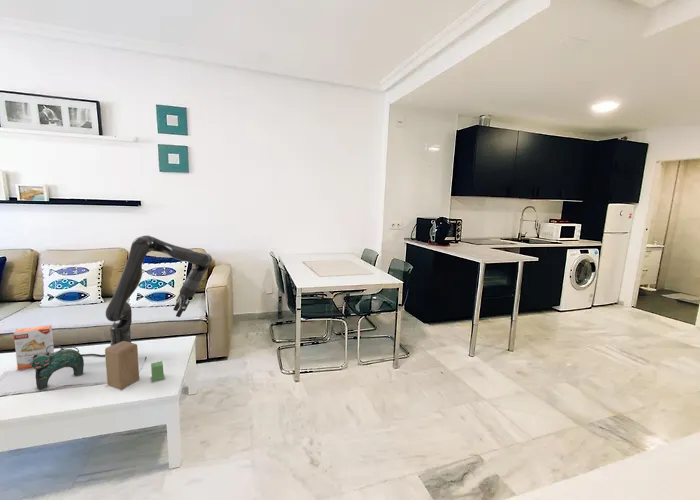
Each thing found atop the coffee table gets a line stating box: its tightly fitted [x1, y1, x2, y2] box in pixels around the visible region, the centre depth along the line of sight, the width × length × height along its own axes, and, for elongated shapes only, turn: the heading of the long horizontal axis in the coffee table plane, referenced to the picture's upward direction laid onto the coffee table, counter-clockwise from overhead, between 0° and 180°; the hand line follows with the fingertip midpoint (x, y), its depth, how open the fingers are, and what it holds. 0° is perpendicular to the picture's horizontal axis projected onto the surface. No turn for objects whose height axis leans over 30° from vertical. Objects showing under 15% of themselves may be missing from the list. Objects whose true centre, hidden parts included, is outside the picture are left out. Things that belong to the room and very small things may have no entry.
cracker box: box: [13, 324, 55, 371], centre depth 176 cm, size 14×6×21 cm, turn 123°
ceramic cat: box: [30, 344, 85, 391], centre depth 163 cm, size 20×6×20 cm, turn 149°
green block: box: [150, 360, 165, 383], centre depth 170 cm, size 5×5×8 cm
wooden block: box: [104, 341, 140, 390], centre depth 164 cm, size 10×10×20 cm
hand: (176, 313), depth 179 cm, fingers open, 8 cm apart
